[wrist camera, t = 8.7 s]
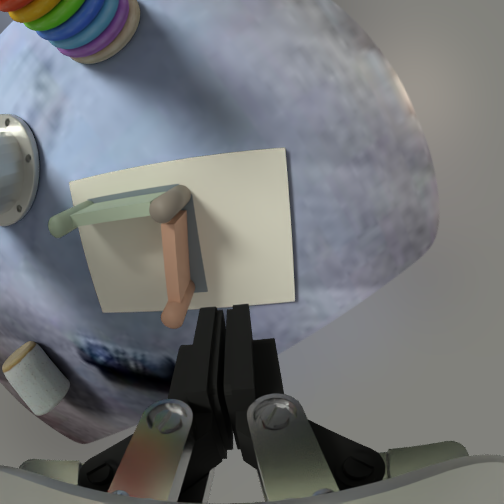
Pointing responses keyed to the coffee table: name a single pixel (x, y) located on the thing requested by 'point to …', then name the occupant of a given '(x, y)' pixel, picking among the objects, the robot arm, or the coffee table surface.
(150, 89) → the coffee table surface
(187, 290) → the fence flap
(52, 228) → the bar
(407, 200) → the coffee table surface
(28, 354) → the ceramic mug
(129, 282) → the board
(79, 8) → the stacking toy
